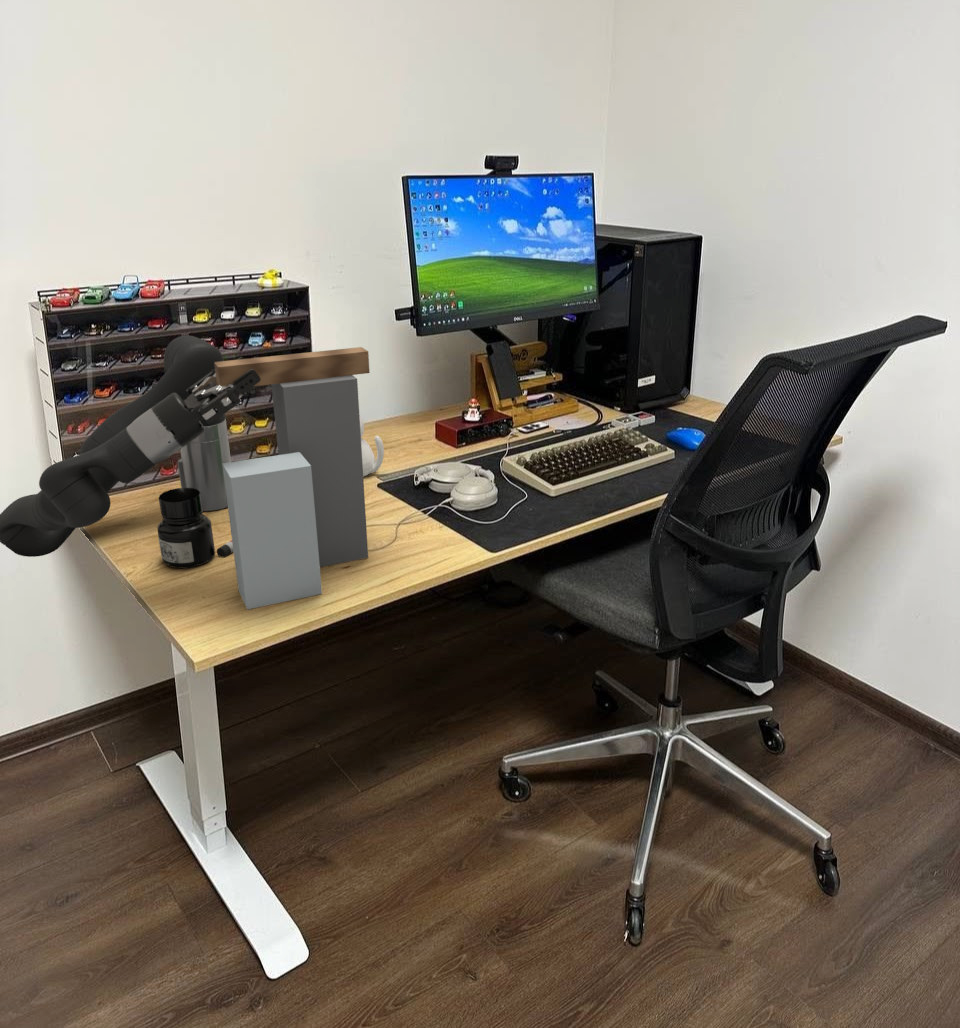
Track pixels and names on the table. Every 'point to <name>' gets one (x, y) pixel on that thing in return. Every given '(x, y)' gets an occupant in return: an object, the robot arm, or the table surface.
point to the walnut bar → (296, 366)
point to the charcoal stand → (327, 458)
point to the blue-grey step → (273, 528)
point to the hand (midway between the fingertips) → (251, 367)
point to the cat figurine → (370, 453)
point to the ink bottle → (184, 529)
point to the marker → (225, 549)
